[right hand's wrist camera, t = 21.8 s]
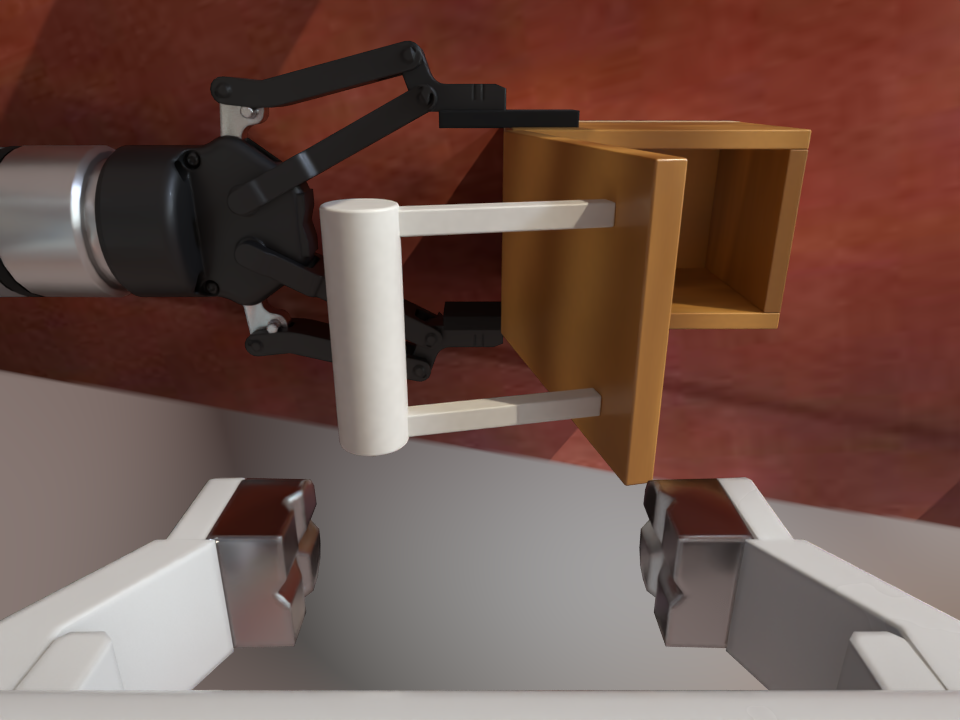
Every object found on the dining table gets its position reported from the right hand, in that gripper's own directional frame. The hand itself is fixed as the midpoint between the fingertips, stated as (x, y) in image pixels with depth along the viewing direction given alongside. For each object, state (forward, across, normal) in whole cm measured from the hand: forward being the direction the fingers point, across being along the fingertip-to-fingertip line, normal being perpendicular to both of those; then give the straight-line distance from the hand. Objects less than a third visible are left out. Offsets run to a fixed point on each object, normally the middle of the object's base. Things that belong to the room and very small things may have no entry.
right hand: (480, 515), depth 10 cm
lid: (+15, -3, 0) cm, 15 cm away
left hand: (+26, -5, 0) cm, 26 cm away
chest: (+32, -8, 0) cm, 33 cm away
